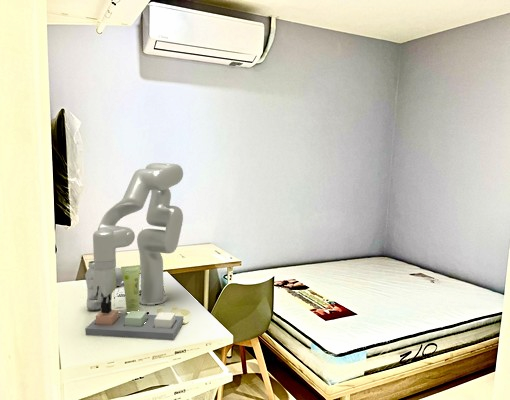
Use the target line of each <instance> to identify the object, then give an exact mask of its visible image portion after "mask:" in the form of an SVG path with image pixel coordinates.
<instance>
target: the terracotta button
mask: <svg viewBox="0 0 510 400" xmlns="http://www.w3.org/2000/svg"><path fill="white" fill-rule="evenodd" d="M118 313H119V309H111V312H110V313H102V312H101V311H99V312H98V313H97V314H96V315H95V319H96V325H113V324H114V323H115V322H116V321H117V320H118V319H119V316H118Z"/></svg>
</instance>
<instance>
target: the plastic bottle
mask: <svg viewBox="0 0 510 400" xmlns="http://www.w3.org/2000/svg"><path fill="white" fill-rule="evenodd" d="M87 263H88V264H87V265H88V266H87V267H88V269H86V272H85V274H84V278H85V283H86V287H87V294H86V295H87V297H86V298H87V299H86V308H87V309H88V310H89V311H99V310H101V303H100V301H98V295H97V296H96V297H94V296H93V276H94V270H95V269H94V260H90V261H88V262H87Z"/></svg>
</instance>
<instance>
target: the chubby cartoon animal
mask: <svg viewBox="0 0 510 400" xmlns="http://www.w3.org/2000/svg"><path fill="white" fill-rule="evenodd" d="M115 272H116V288H118V287H117V286H120V287H121V284H122V282H123V275H122V270H121V267H116V268H115Z"/></svg>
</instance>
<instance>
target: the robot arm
mask: <svg viewBox="0 0 510 400" xmlns="http://www.w3.org/2000/svg"><path fill="white" fill-rule="evenodd" d="M183 177H184V171H183V168H182V166H181V165H179V164H177V163H164V162H163V163H162V162H161V163H160V162H151V163H149V164H147V165H146V167H145V168H139V169H137V170H135V171H134V173H133V175H132V177H131V179H130V182H129V184H128V186H127V188H126V191H125V192H124V195H123V196H122V199H121V200H120V201H118V202H116V204H114V205H113V206H111V208H110V209H108V210H107V211H106V212H105V213H104V215H103V216H102V219H101V221H100V223H99V225H98V228H97V230H95V231H94V233H93V235H92V241H93V242H92V243H93V244H92V246H93V249H92V251H93V261H94V269H95V270H94V276H93V296H94V297H96V296H97V295H98V301H100V303H101V309H100V312H102V313H110V312H111V310H112V299H113V293H114V292H115V290H116V288H117V287H116V272H115V268H117V263H116V262H117V260H116V259H117V257H116V256H117V255H116V253H117V252H116V250H117V249H119V248H125V247H129V246H131V245H132V244H133V242H134V241H135V238H136V242H137V243H136V244H137V248H138V252H139V265H141V268H140V294H139V304H140V303H141V304H140V305H142V304H147V305H146V306H156V305H155V304H158V305H162V304H164V303H165V302H166V301H167V300H168V295H167V294H166V293H164V292H165V291H164V259H163V256H162V254H172V253H174V252H176V250H177V248H178V245H179V241H180V237H181V232H182V226H183V222H184V213H183V211H182V209H181V208H180V207H178V206H176V205H170V204H171V200H172V193H171V190H170V188H172V187H174V186H176V185H178V184H179V183H180V182H181V181H182V180H183ZM150 192H151V194H150ZM149 195H150V200H149V204H148V208H147V212H146V215H145V216H146V222H147V224H148V225H149V226H152V227H160V228H165V229H158V228H157V229H156V228H144V229H142V230H141V231H139V232H138V234H137V236H136V235H135V232H134V230H133V229H132V228H130V227H128V226H127V227H126V226H121V225H120V226H119V225H117V224H118V222H119V221H120V220H121V219H123V218H124V217H126V216H128V215H132V214H133V213H137V212H139V211H140V210H142V209H143V208H144V207H145V203H146V202H147V199H148V196H149ZM161 253H162V254H161Z"/></svg>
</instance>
